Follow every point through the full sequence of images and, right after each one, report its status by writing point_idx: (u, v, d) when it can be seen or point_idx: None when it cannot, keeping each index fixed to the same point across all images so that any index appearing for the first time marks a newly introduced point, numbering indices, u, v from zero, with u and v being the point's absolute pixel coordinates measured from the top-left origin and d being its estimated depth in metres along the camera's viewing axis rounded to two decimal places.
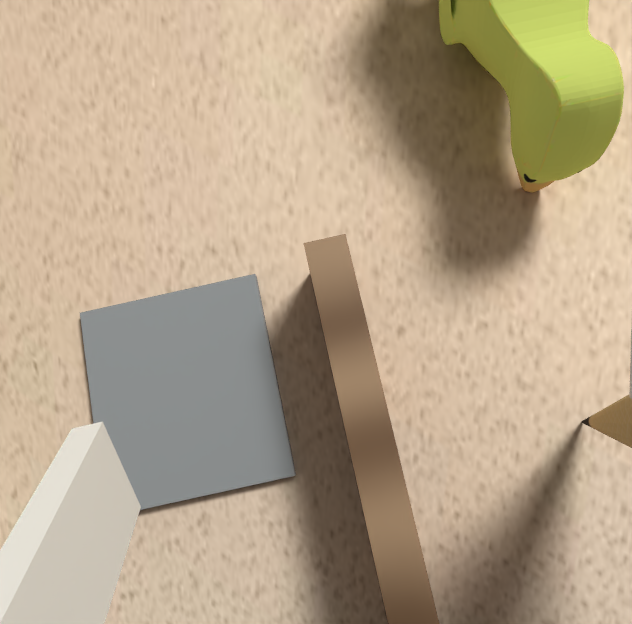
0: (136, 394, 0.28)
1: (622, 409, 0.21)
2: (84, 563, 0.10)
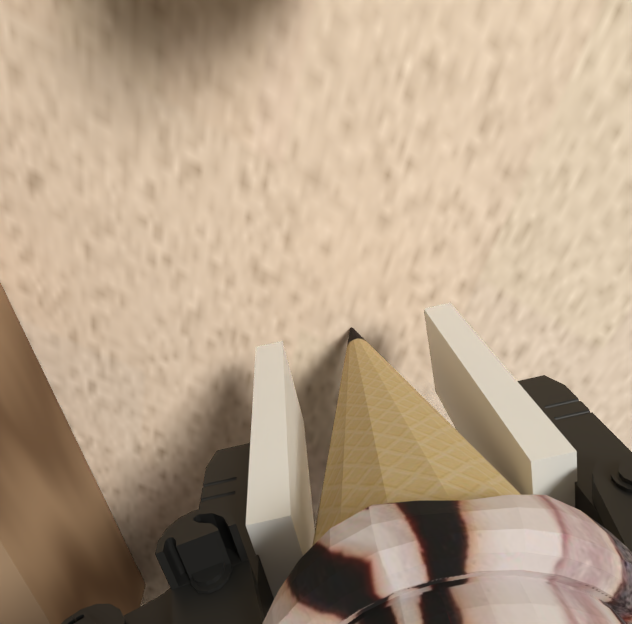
0: None
1: (331, 443, 0.11)
2: (298, 446, 0.12)
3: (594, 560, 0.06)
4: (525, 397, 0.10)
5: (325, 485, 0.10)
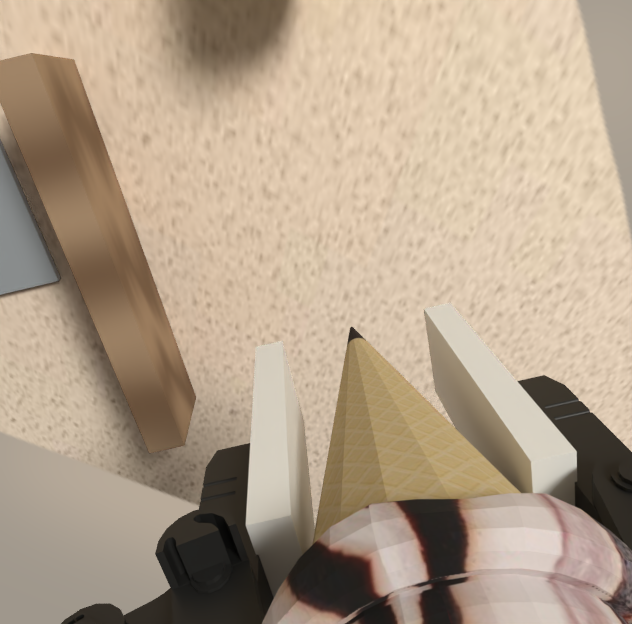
0: None
1: (331, 443, 0.11)
2: (298, 446, 0.12)
3: (594, 559, 0.06)
4: (525, 397, 0.10)
5: (325, 484, 0.10)
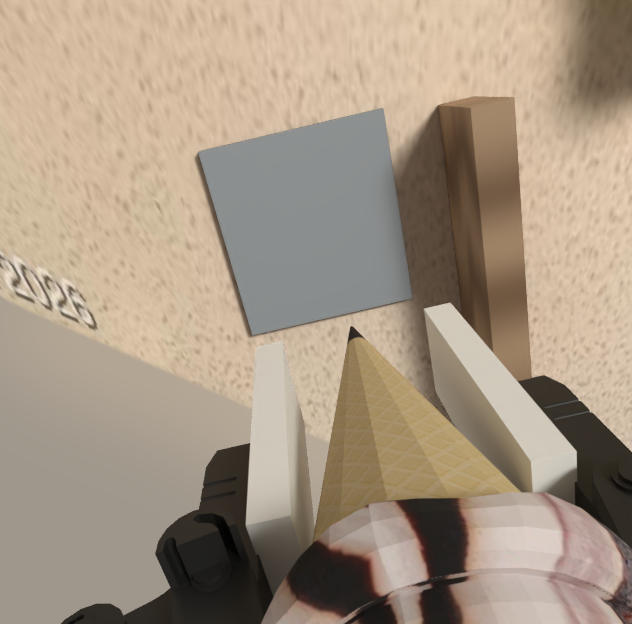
0: (268, 234, 0.30)
1: (331, 442, 0.11)
2: (298, 446, 0.12)
3: (595, 558, 0.06)
4: (525, 397, 0.10)
5: (325, 483, 0.10)
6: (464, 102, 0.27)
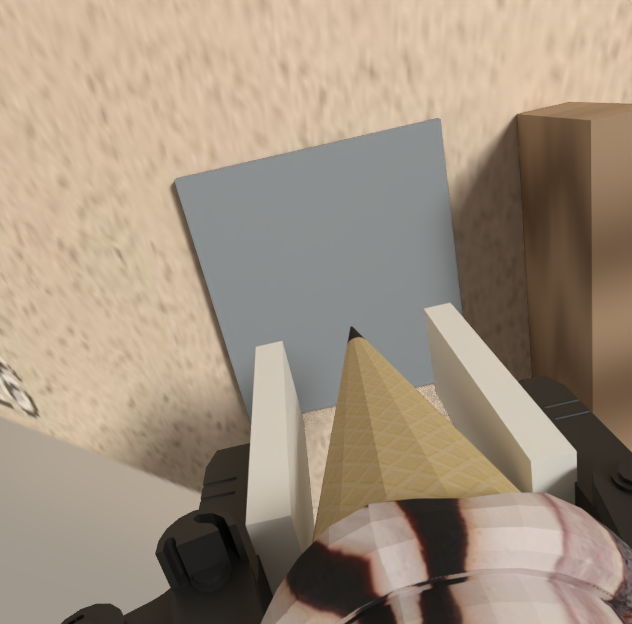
0: (273, 292, 0.21)
1: (330, 442, 0.11)
2: (298, 446, 0.12)
3: (595, 558, 0.06)
4: (525, 397, 0.10)
5: (325, 483, 0.10)
6: (563, 111, 0.18)
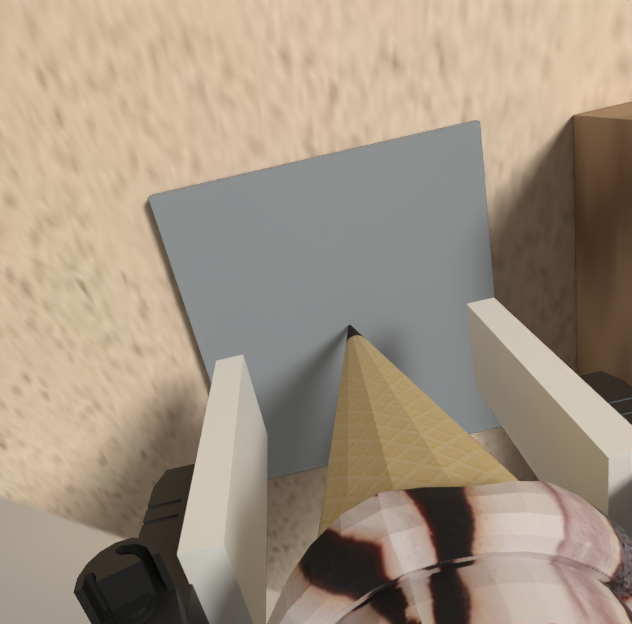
0: (272, 332, 0.18)
1: (334, 437, 0.11)
2: (252, 464, 0.12)
3: (594, 542, 0.06)
4: (591, 392, 0.10)
5: (330, 477, 0.10)
6: None
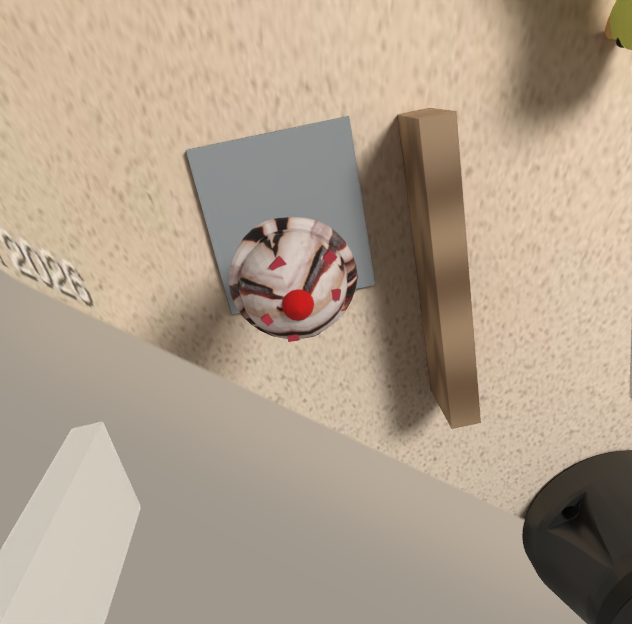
0: (247, 224, 0.34)
1: None
2: (84, 563, 0.10)
3: (323, 229, 0.22)
4: None
5: None
6: (418, 113, 0.30)
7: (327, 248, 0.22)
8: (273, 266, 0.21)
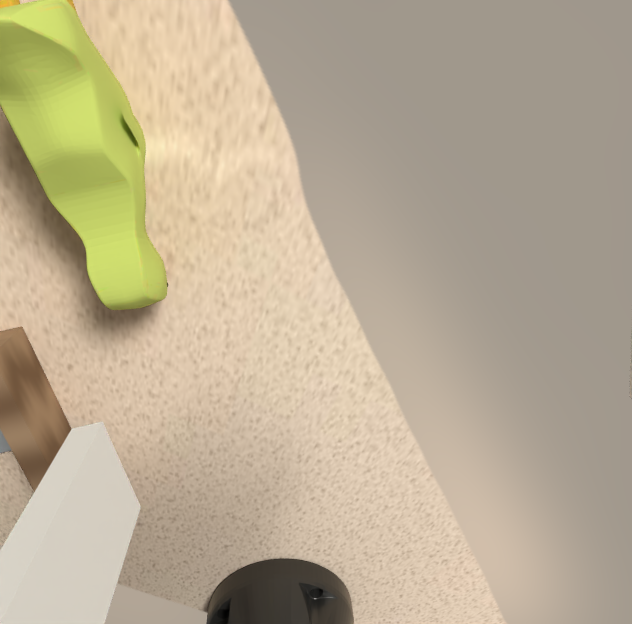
0: None
1: None
2: (84, 563, 0.10)
3: None
4: None
5: None
6: None
7: None
8: None
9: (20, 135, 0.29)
